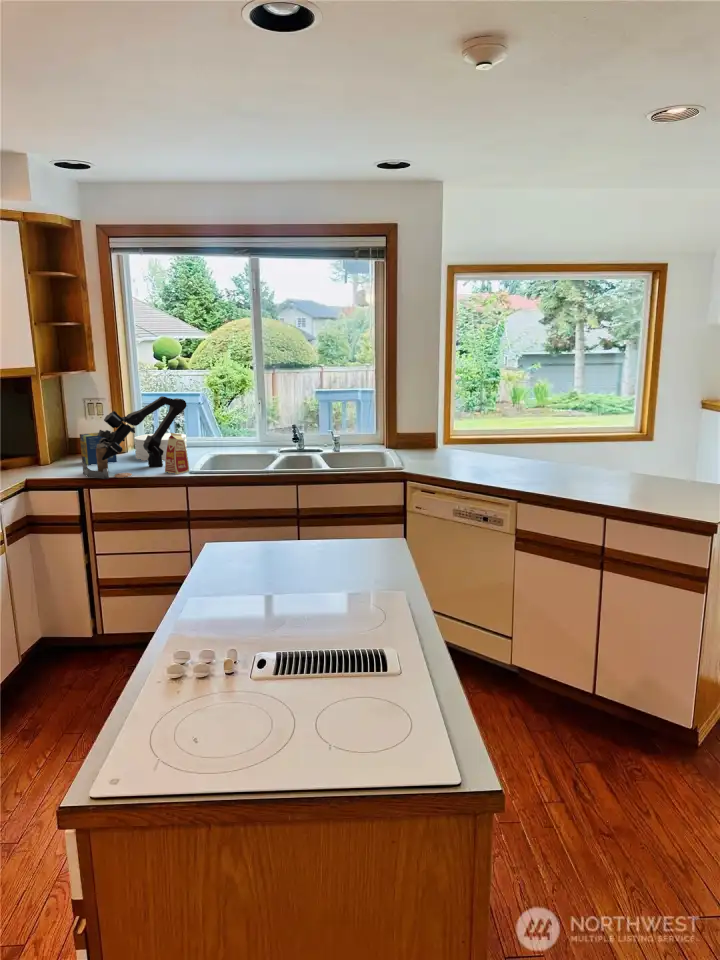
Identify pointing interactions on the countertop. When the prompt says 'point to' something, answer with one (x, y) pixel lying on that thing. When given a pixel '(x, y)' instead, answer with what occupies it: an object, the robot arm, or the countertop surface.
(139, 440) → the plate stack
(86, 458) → the protein box
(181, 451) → the milk carton
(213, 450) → the countertop surface
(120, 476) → the trivet
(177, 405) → the robot arm
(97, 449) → the pepper mill
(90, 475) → the gray curved bracket
